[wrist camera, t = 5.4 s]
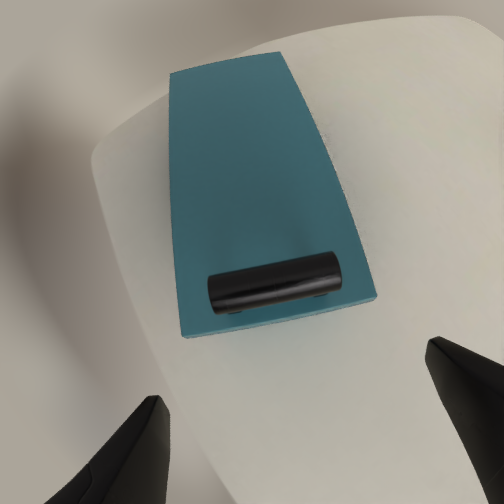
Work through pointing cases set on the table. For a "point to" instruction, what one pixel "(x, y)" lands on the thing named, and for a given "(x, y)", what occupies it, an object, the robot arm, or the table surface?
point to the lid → (255, 202)
